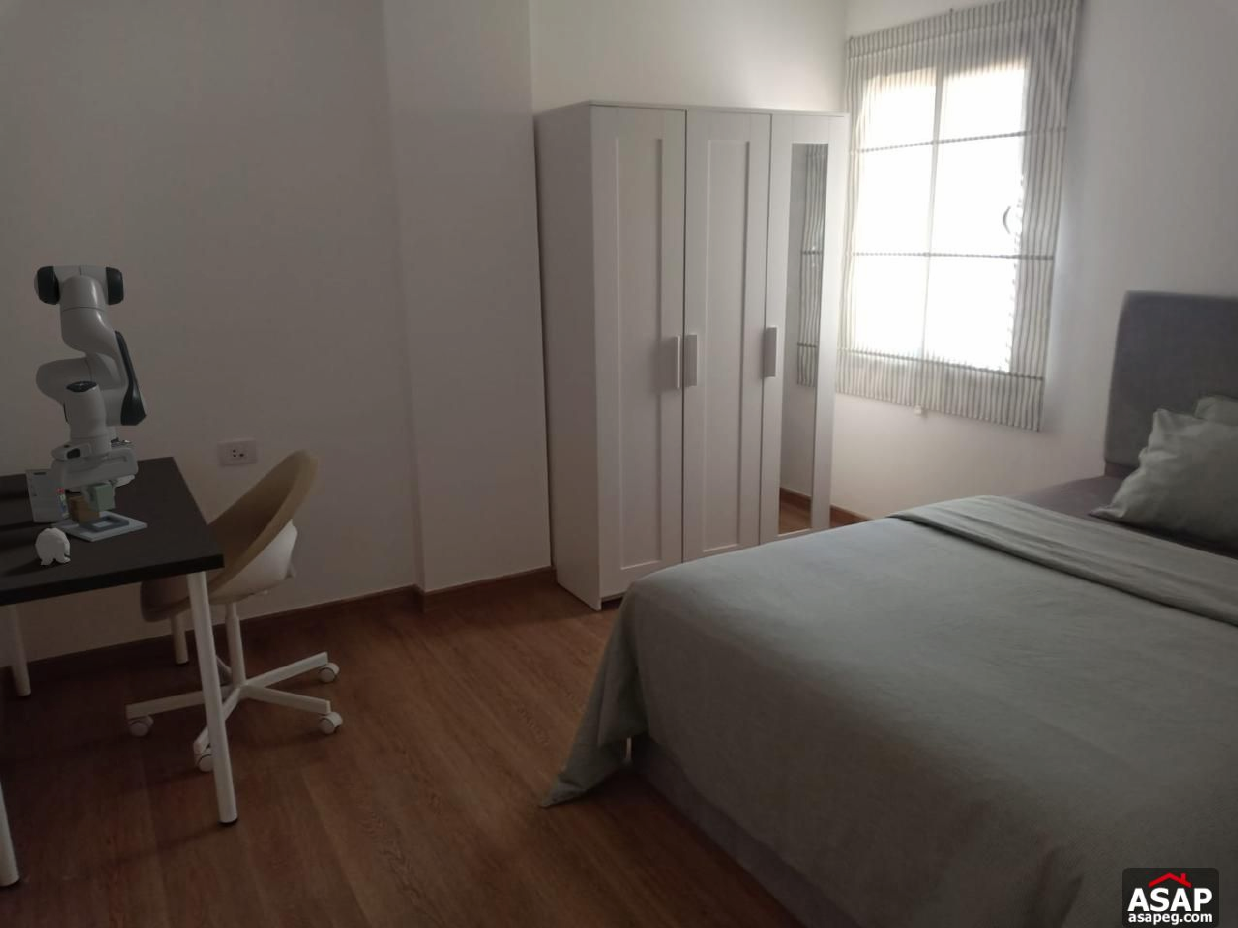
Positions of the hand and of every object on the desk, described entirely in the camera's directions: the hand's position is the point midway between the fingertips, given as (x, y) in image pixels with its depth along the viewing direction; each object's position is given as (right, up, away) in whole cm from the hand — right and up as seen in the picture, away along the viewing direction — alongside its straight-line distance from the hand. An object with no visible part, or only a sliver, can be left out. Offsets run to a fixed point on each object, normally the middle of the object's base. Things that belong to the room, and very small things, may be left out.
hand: (100, 498), depth 247 cm
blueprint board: (-2, -8, +4) cm, 9 cm away
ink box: (-19, -6, +11) cm, 23 cm away
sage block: (0, -2, +1) cm, 2 cm away
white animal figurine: (+1, -14, -21) cm, 25 cm away
